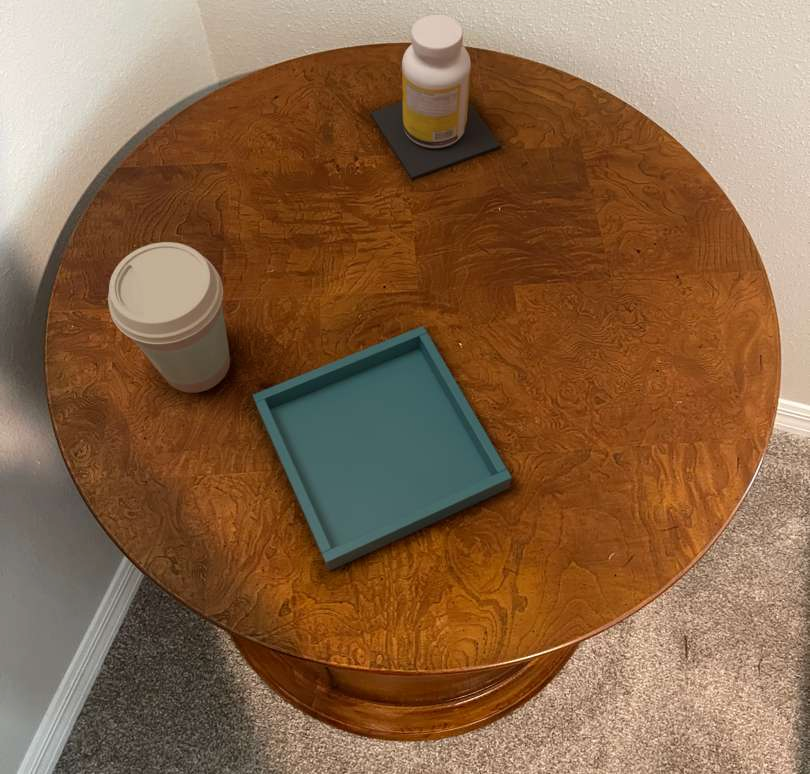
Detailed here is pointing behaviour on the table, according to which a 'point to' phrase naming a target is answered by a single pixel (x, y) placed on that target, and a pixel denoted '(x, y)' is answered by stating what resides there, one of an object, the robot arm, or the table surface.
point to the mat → (433, 159)
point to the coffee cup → (173, 313)
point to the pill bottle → (435, 82)
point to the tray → (379, 446)
